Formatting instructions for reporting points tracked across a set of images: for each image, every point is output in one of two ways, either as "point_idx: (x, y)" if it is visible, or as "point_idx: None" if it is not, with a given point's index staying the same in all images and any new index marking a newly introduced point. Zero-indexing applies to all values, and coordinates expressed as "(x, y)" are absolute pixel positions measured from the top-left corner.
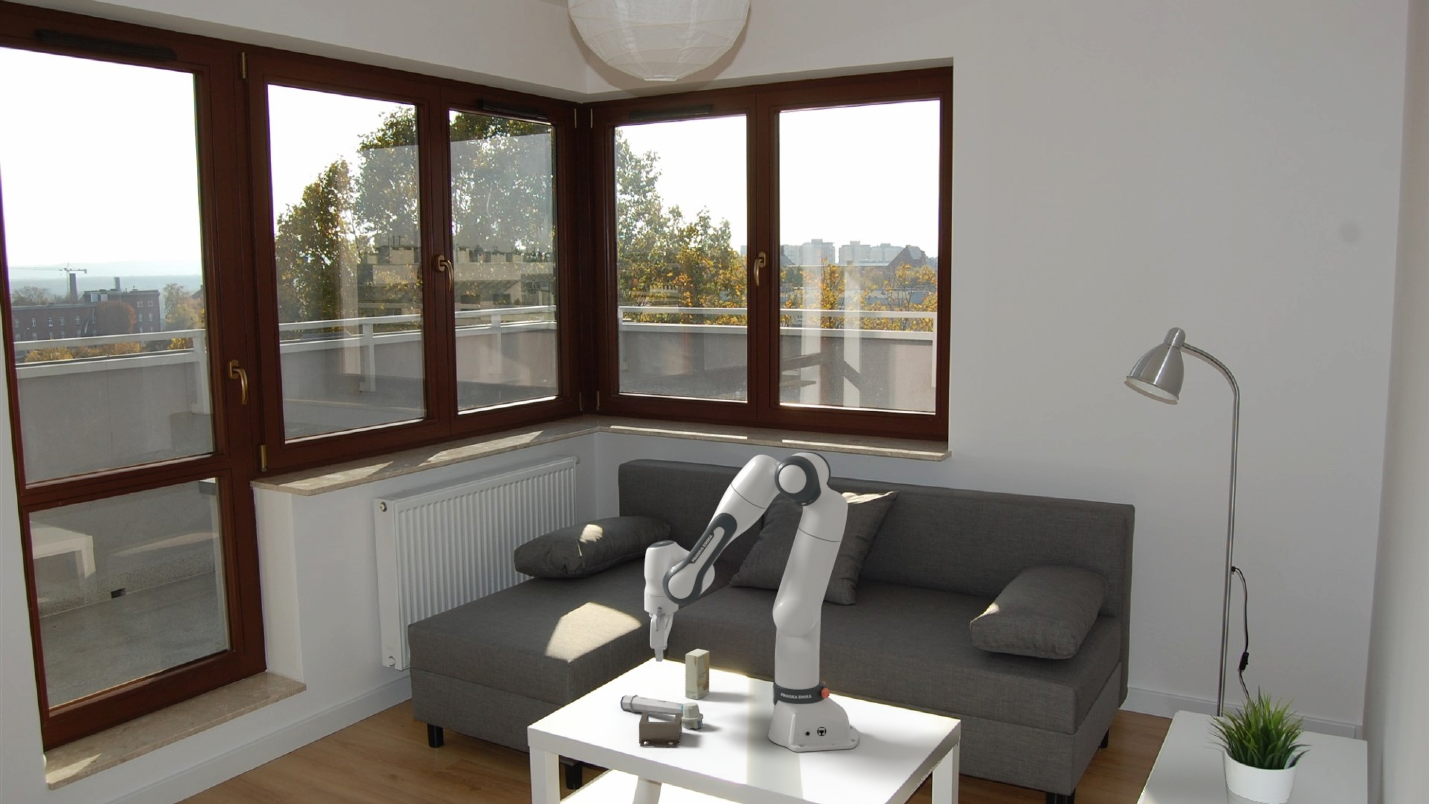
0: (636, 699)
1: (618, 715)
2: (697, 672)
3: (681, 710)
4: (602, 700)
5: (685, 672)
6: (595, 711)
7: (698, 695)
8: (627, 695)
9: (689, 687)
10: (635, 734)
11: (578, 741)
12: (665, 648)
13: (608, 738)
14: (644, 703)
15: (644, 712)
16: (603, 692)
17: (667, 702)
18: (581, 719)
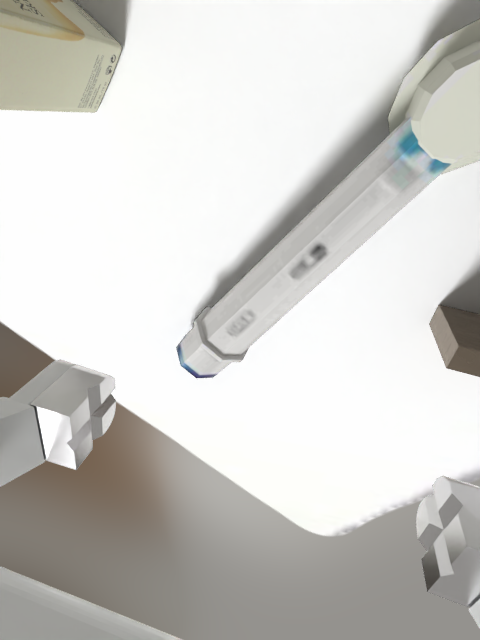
0: (237, 345)
1: (262, 371)
2: (18, 18)
3: (444, 169)
4: (144, 390)
5: (8, 109)
6: (224, 419)
7: (108, 38)
8: (185, 362)
9: (74, 88)
10: None
11: None
12: (108, 384)
13: (450, 428)
14: (273, 321)
15: (452, 362)
16: None
17: (336, 239)
18: (277, 457)
